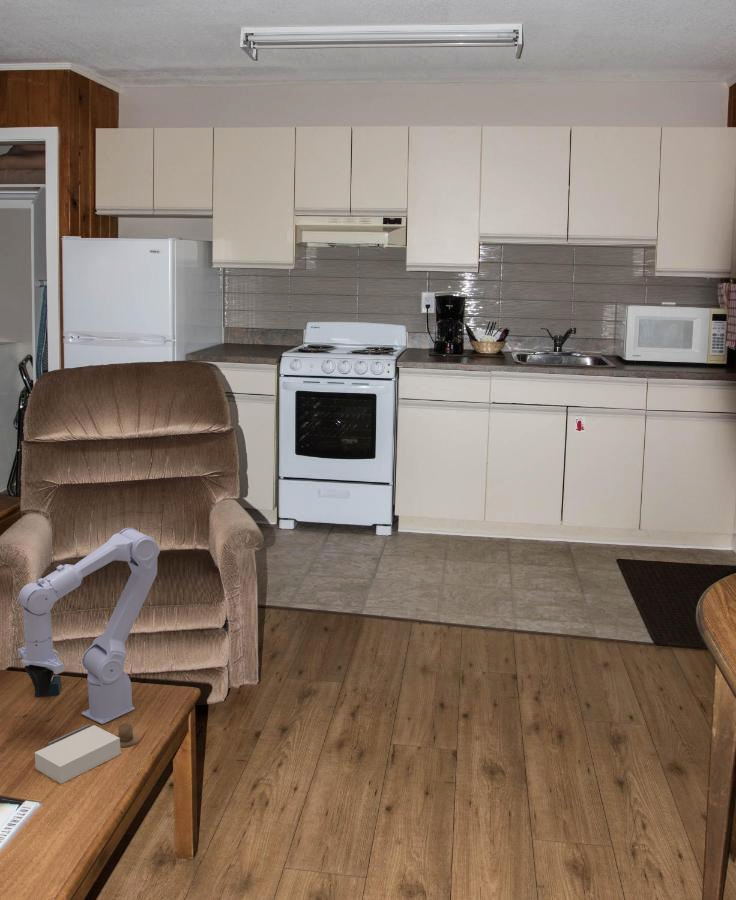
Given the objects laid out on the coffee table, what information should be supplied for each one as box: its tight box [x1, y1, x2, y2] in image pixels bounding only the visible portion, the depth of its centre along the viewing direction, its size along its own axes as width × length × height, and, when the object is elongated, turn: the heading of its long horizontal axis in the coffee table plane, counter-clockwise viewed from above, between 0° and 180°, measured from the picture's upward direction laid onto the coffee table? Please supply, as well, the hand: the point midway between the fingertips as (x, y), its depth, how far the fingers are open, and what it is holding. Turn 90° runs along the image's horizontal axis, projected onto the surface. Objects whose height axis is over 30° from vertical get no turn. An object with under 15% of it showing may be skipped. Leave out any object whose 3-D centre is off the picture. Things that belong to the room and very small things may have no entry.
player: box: [34, 725, 121, 785], centre depth 201 cm, size 9×15×4 cm, turn 142°
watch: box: [34, 648, 62, 698], centre depth 232 cm, size 6×8×11 cm
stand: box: [116, 722, 140, 749], centre depth 210 cm, size 6×6×4 cm
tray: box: [47, 723, 92, 747], centre depth 203 cm, size 9×10×3 cm
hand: (42, 694), depth 211 cm, fingers closed
